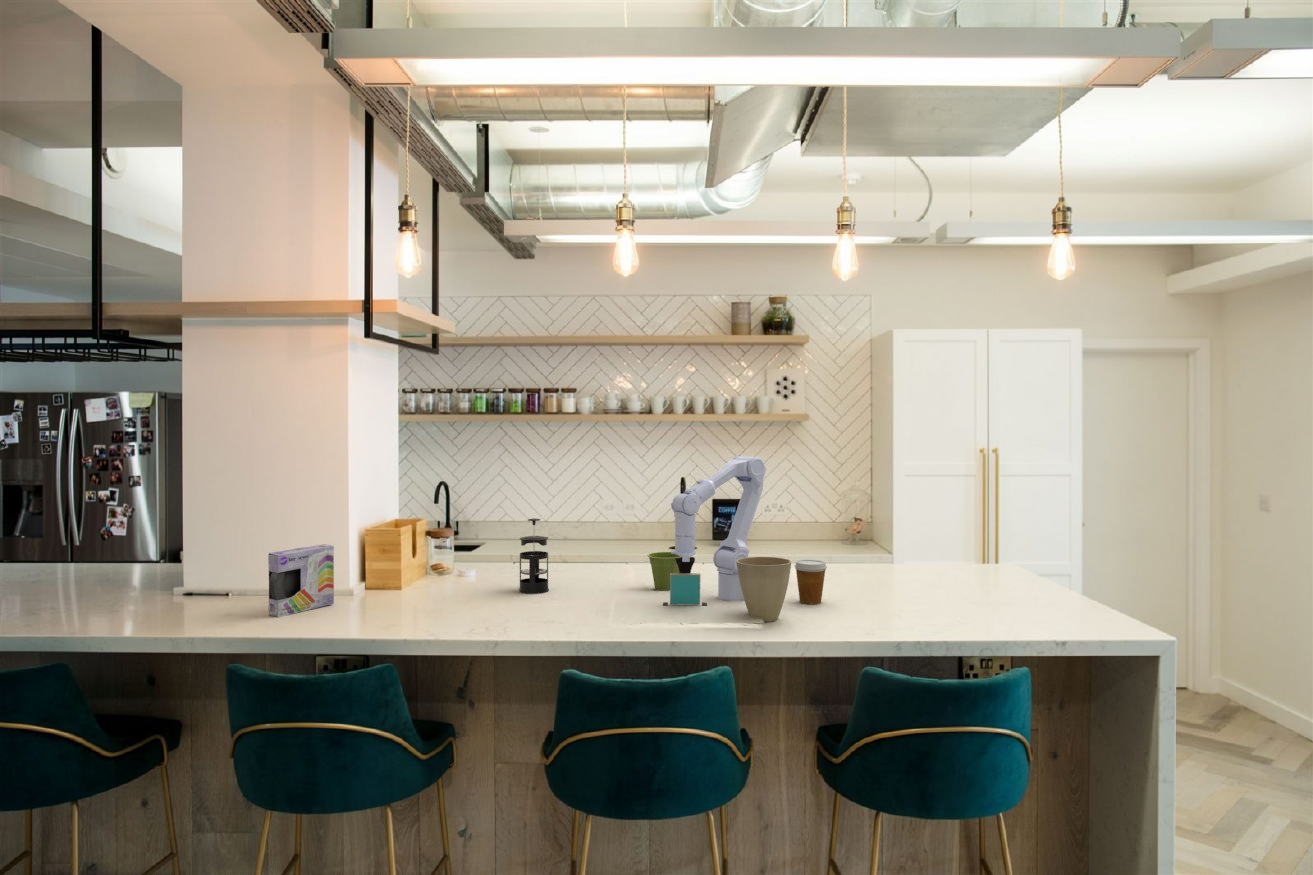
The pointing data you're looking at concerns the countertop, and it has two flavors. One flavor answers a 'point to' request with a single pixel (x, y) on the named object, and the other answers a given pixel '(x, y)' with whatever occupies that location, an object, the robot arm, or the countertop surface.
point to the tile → (684, 588)
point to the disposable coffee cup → (810, 580)
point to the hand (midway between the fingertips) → (684, 582)
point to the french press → (534, 565)
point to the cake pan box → (300, 579)
